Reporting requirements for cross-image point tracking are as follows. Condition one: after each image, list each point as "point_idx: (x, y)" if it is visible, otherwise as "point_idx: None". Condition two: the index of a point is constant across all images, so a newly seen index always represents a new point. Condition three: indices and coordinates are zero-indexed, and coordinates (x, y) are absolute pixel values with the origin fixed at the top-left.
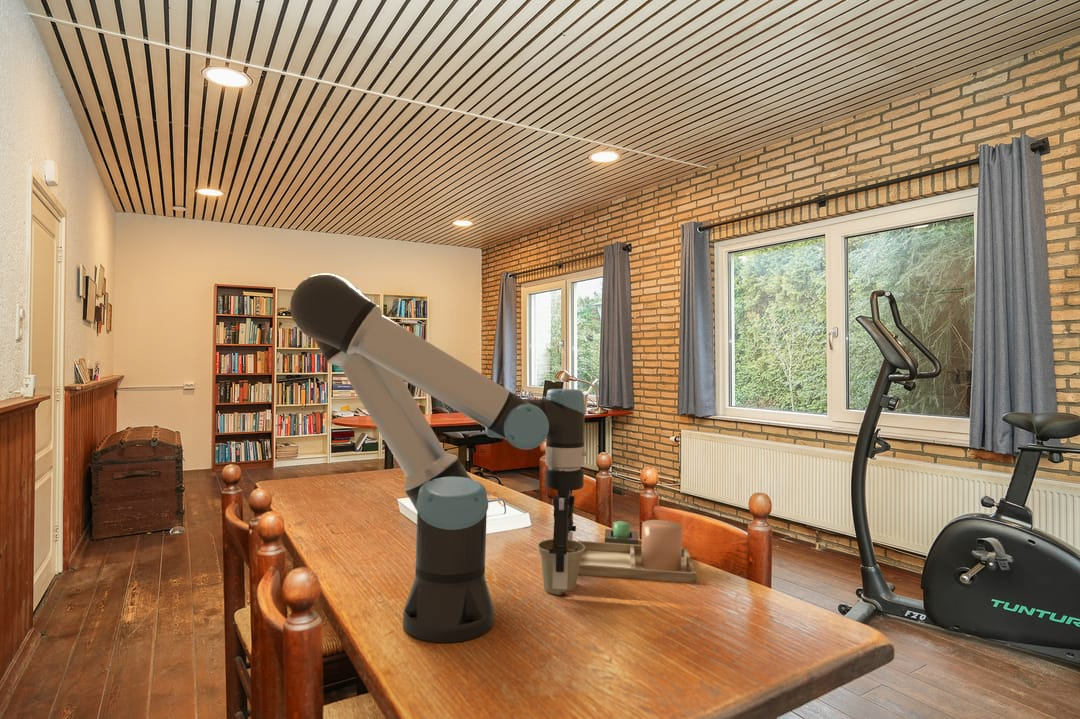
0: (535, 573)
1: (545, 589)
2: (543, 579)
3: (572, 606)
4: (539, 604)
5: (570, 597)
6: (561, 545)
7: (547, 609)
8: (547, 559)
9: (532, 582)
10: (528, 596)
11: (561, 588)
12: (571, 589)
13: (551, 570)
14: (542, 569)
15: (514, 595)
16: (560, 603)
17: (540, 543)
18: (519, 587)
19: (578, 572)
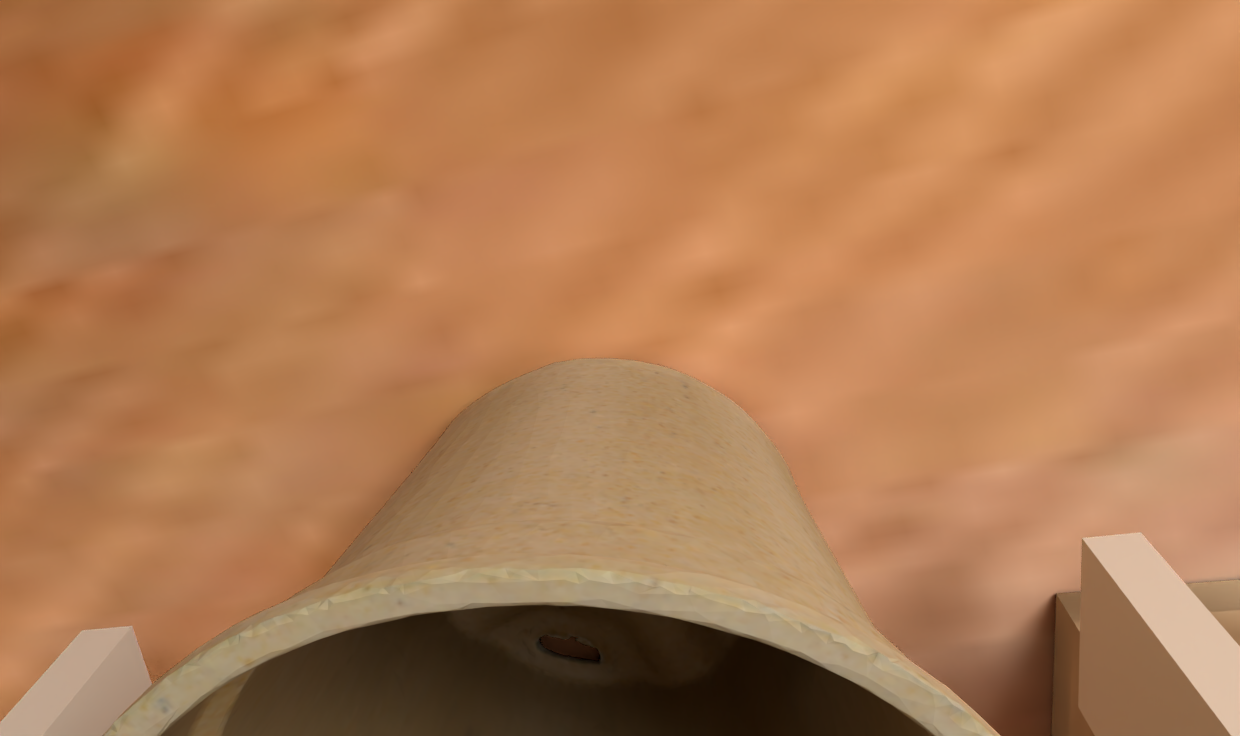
0: (1127, 108)
1: (470, 405)
2: (487, 415)
3: None
4: (88, 411)
5: None
6: None
7: (9, 514)
8: (216, 707)
9: (744, 159)
10: (249, 234)
11: None
12: (502, 698)
13: (295, 653)
14: (462, 460)
15: (197, 49)
16: (224, 603)
17: (611, 602)
18: (497, 32)
19: None
